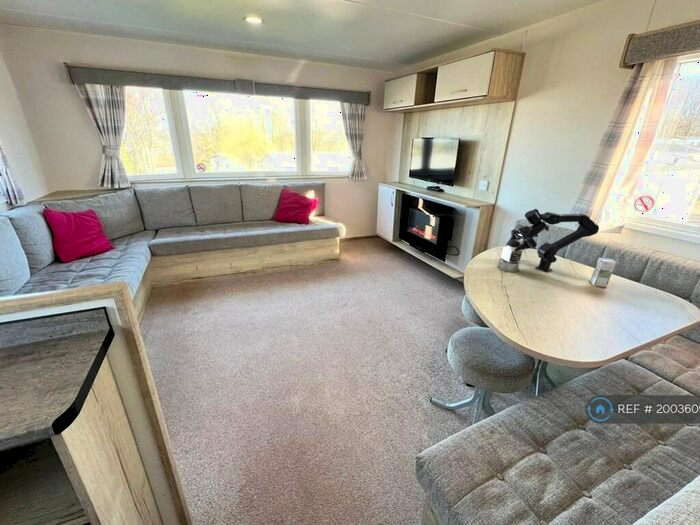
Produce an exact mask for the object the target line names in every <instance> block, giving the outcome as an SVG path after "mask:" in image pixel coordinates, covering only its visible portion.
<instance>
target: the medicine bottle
mask: <svg viewBox="0 0 700 525" xmlns="http://www.w3.org/2000/svg"><path fill="white" fill-rule="evenodd" d="M508 241H509V242H508ZM508 241H507V242H508V246H503V248H502V252H501V257H500V258H502V259H504V260H505V261H507V262H520V261H521V259H520V258H522V256H521V254H522V255H523V253H522V250H519V251H515V249H516V248H517V247H518V246H519V245H520V243H521V242H520V241H518V240H514V239H512V240H510V239H508ZM520 263H521V262H520Z"/></svg>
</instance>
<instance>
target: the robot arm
mask: <svg viewBox="0 0 700 525" xmlns="http://www.w3.org/2000/svg"><path fill="white" fill-rule="evenodd" d="M524 218H525V219H526V220H527V222H528V224H530V225H531V226H528V225H522V224H520V223H517V224H516V226H515V227H514V229H512V230H510V234H511V236H510V238H509V240H512V239H514V240H518V241H519V240H521V239H523V242H522V243H521V244H520V245H519V246H518V247H517V248H516V249H515V251H519V250H523V251H524V250H528V249H530V250H531V249H535V248H536V247H537V245H538V243H537V242H536V240H535V239H534V238H537V237H539V234H540V233H541V232H543V231H544V230H545V231H546V232H549V229H550V225H551V226H554V225H558V224H560V223H577V224H578V226H577V228H576V230H575V231H572V232H571V233H569V234H567V235H565V236H564V237H562V238H560V239H558V240H556V241H554V242H553V243H549V242H544V243H543V244H542V245H540V246H539V247H538V248H537V250H536V251H537V256H538V258H539V259H540V260H539V263H538V266H536V267H535V269H536V270H539V271H543V272H546V273H548V272H550V271H552V270H553V269H552V268H551V266H552V264H553V263H556V261H558V259H557V257H556V255H557V254H558V252H559V251H560V250H563V249H564V248H566V247H567V246H569V245H571V244H573V243H575V242H577V241H579V240H581V239H582V238H587V237H592V236H594V235H596V234H598V232H599V230H600V226H599V225H598V224H596V223H595V221H593V220H592V219H591V218H590V217H589V215H587V214H584V213H562V214H560V213H556V212H550V211H546V212H544V213H540V211H539V210H538V208H534V209H531V210H529V211H526V213H525V214H524ZM547 224H548V225H547ZM509 240H507V242H506V247H508V242H509Z"/></svg>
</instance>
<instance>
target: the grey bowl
mask: <svg viewBox="0 0 700 525" xmlns="http://www.w3.org/2000/svg"><path fill="white" fill-rule="evenodd" d="M520 263H521V262H507V261H505V260H504V259H502V258H501V257H500V258H499V262H498V265H497V268H498V269H499V270H501V271H504V272H508V273H517V272H518V270H519V267H520Z"/></svg>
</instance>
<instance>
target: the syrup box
mask: <svg viewBox="0 0 700 525" xmlns="http://www.w3.org/2000/svg"><path fill="white" fill-rule="evenodd" d="M616 264H617V262H616V261H615V260H614V259H613V258H607V257H598V258H597V262H596V265H595V267H594V270H593V272H592V274H591V278H590V280H589V283H591V284H592V285H593V286H595V287H601V288H607V287H608V284H609V281H610V280H611V276H612V275H613V272H614V269H615V267H616Z"/></svg>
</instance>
